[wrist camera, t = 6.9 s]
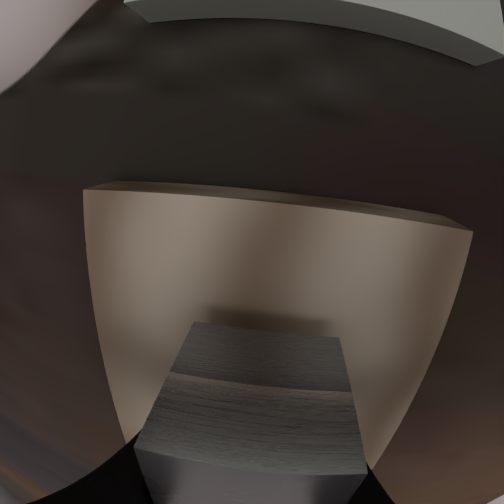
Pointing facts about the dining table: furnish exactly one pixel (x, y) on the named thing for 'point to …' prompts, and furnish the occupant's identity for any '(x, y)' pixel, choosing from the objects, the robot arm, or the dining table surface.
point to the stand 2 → (269, 285)
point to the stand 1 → (364, 19)
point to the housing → (253, 422)
